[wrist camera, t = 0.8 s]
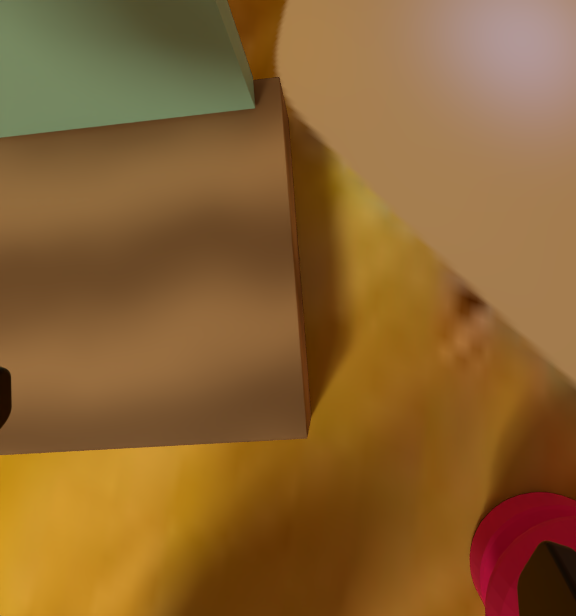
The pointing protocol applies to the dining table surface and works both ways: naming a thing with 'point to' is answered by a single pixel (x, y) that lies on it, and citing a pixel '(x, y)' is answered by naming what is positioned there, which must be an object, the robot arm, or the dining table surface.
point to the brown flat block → (153, 283)
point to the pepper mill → (516, 544)
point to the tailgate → (117, 63)
